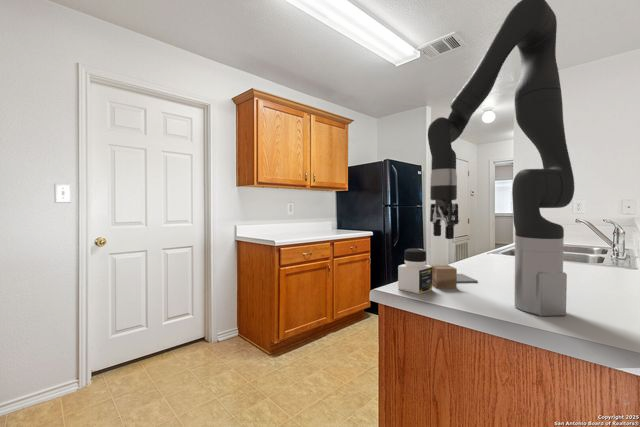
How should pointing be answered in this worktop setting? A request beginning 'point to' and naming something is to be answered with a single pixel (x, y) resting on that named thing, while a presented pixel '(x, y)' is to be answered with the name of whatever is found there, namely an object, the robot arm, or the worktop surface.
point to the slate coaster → (465, 279)
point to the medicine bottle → (415, 272)
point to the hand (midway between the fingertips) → (443, 237)
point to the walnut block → (444, 276)
